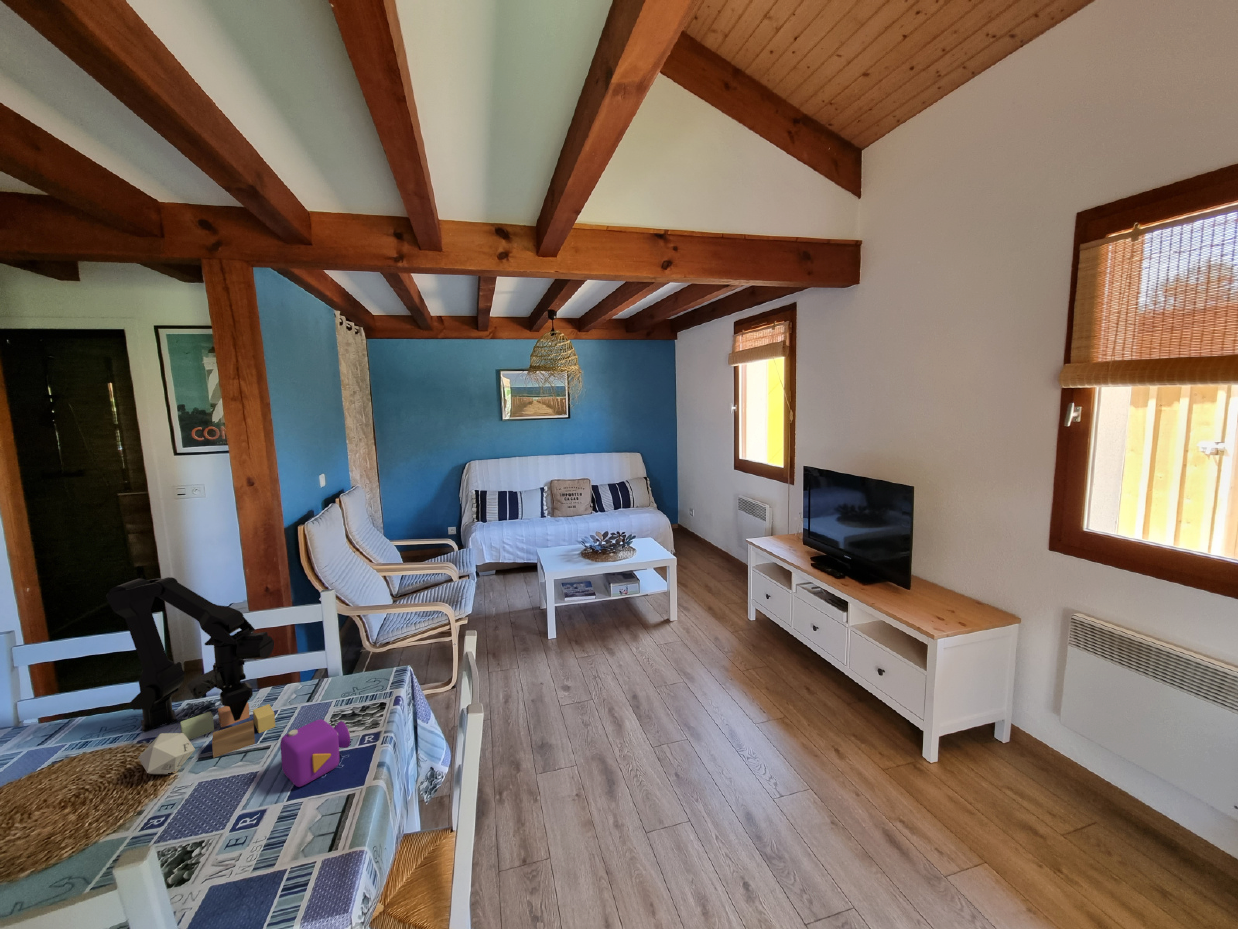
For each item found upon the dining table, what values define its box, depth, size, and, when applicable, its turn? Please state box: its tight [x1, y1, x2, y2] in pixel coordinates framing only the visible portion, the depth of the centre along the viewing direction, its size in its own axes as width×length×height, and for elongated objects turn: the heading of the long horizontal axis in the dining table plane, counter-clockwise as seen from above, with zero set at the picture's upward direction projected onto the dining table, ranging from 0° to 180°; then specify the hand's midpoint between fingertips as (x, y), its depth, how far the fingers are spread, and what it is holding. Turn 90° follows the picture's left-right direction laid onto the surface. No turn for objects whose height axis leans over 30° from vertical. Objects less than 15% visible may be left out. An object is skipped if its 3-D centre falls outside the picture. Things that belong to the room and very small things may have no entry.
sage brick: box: [180, 710, 215, 741], centre depth 124 cm, size 4×6×4 cm, turn 138°
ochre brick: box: [252, 703, 276, 734], centre depth 127 cm, size 4×6×4 cm, turn 47°
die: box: [138, 732, 196, 775], centre depth 111 cm, size 8×9×10 cm
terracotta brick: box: [217, 701, 251, 729], centre depth 130 cm, size 4×6×4 cm, turn 138°
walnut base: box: [211, 719, 256, 759], centre depth 119 cm, size 5×8×4 cm, turn 129°
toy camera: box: [280, 718, 351, 788], centre depth 112 cm, size 11×14×10 cm
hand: (233, 713), depth 130 cm, fingers open, 9 cm apart
